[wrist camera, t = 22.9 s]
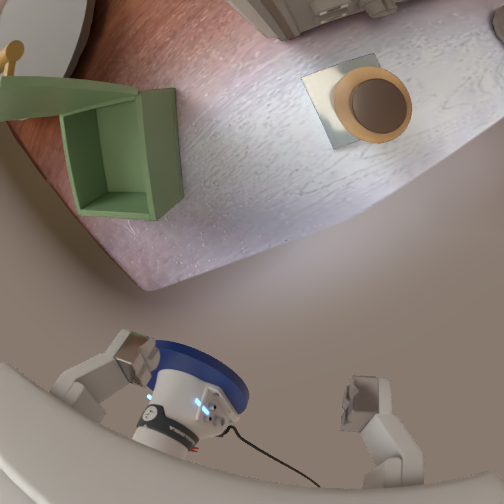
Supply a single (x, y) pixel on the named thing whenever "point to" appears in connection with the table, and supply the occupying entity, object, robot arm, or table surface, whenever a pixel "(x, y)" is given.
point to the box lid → (48, 90)
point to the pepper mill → (372, 104)
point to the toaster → (304, 13)
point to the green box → (124, 156)
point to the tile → (320, 95)
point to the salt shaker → (499, 23)
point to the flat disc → (47, 34)
